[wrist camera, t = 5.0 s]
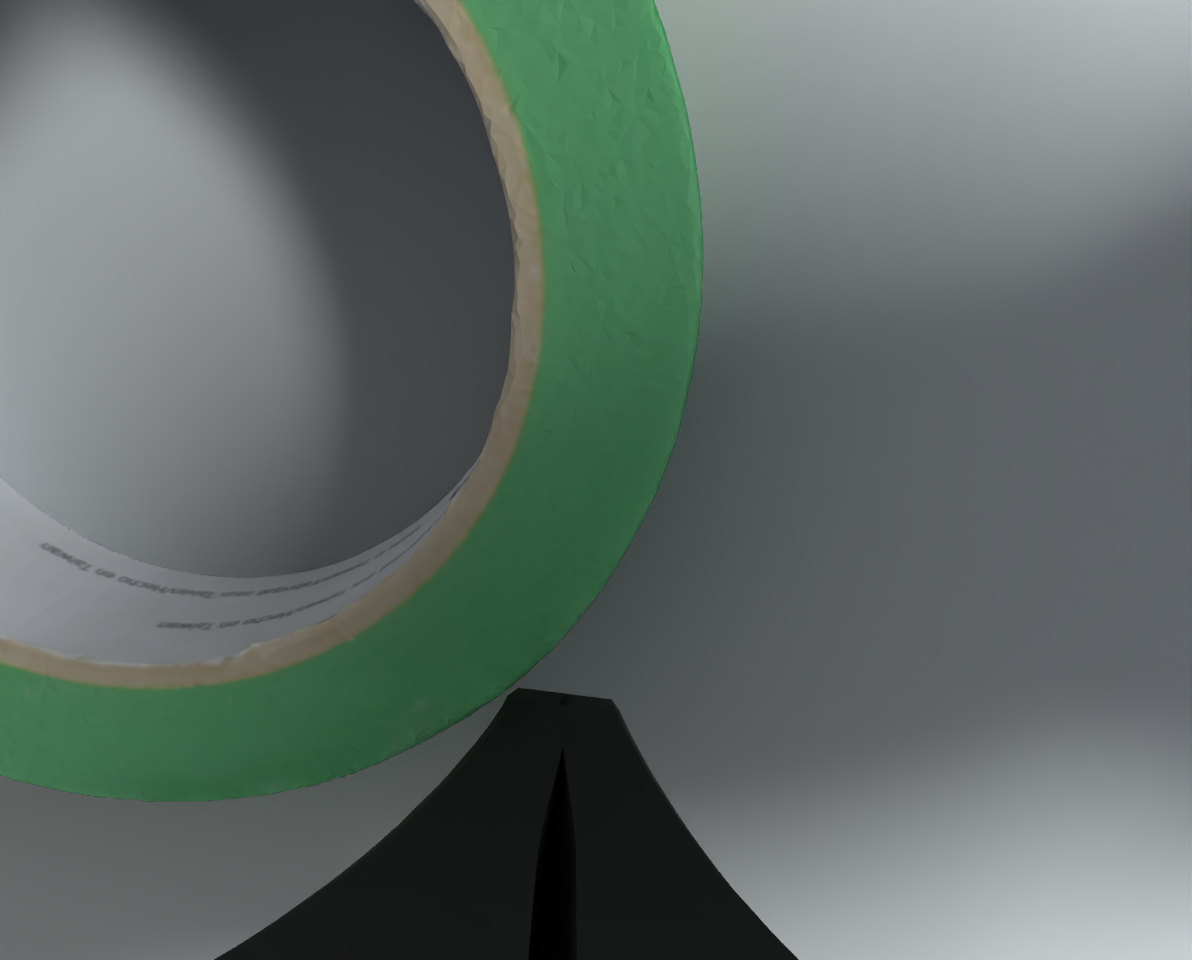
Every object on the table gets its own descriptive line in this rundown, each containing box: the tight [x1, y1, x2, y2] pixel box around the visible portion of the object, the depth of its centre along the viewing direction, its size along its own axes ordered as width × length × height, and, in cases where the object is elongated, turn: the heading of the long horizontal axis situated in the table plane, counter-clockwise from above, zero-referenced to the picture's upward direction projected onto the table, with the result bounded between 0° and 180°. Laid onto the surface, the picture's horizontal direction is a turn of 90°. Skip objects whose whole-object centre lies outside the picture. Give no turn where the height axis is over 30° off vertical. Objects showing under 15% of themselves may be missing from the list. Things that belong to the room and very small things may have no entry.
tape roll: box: [0, 0, 703, 802], centre depth 9 cm, size 11×11×3 cm
